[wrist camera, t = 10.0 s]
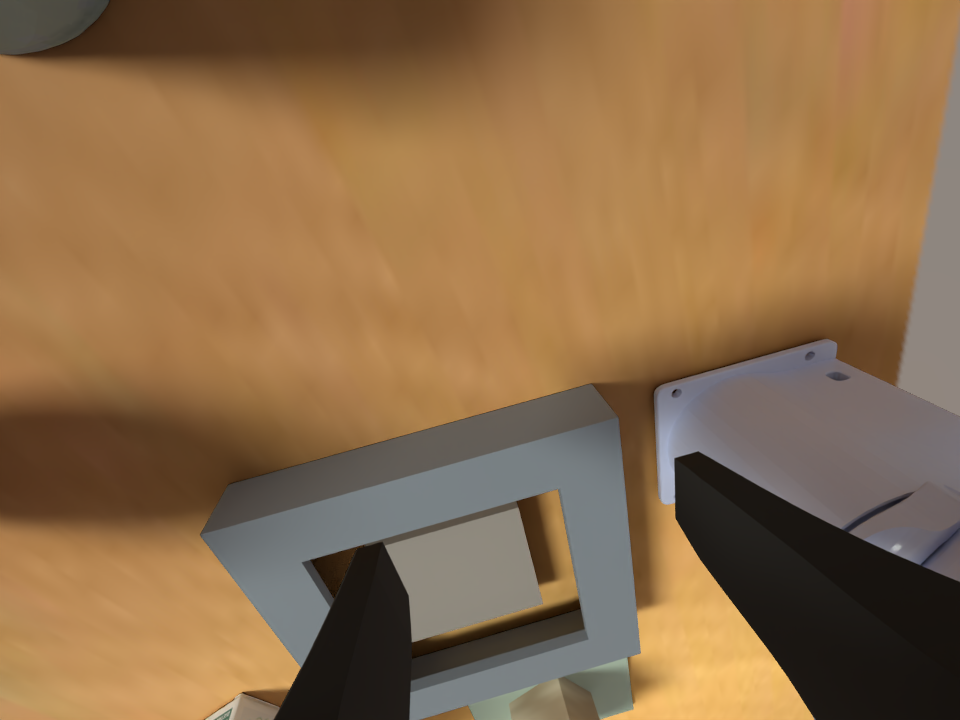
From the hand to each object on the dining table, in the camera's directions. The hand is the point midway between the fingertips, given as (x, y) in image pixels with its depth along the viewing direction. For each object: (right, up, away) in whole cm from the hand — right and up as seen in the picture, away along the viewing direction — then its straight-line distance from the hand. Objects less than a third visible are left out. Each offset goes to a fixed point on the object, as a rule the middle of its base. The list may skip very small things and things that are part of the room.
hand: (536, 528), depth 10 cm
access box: (-3, -7, +14) cm, 16 cm away
